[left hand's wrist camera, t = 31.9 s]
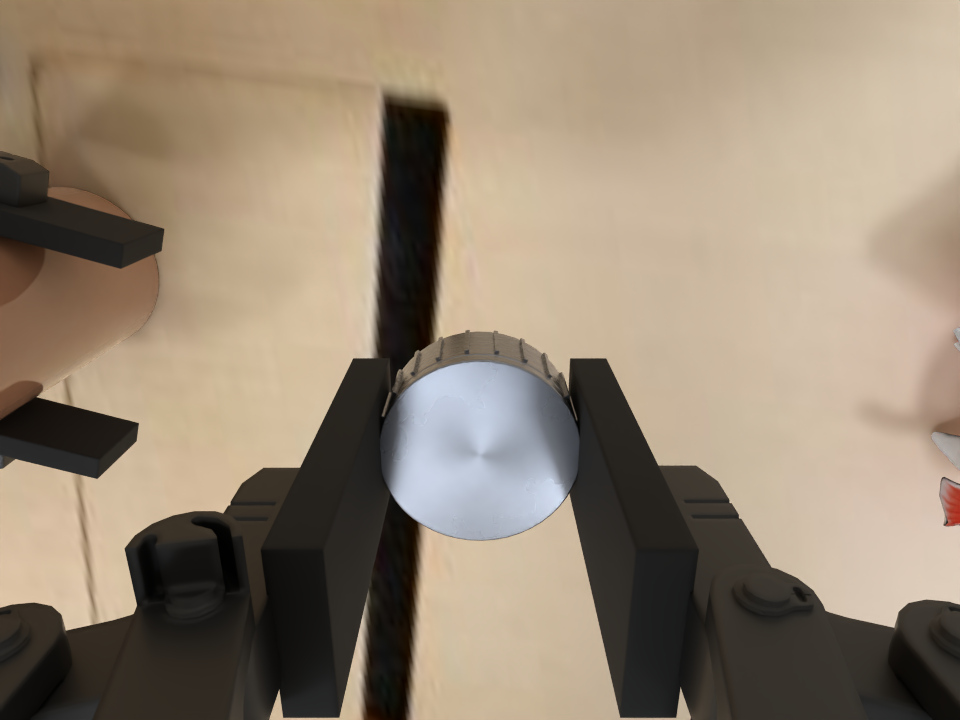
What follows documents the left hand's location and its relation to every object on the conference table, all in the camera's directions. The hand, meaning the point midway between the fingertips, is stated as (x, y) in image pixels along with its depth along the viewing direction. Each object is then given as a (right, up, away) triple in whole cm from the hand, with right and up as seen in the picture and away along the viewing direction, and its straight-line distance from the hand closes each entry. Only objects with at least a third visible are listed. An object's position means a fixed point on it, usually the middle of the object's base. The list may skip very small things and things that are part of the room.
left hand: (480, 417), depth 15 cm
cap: (0, -1, -1) cm, 1 cm away
